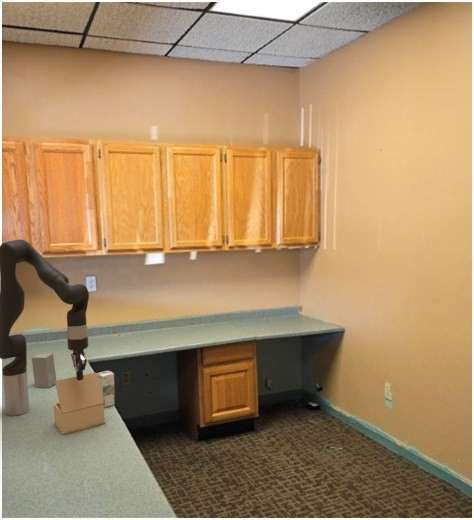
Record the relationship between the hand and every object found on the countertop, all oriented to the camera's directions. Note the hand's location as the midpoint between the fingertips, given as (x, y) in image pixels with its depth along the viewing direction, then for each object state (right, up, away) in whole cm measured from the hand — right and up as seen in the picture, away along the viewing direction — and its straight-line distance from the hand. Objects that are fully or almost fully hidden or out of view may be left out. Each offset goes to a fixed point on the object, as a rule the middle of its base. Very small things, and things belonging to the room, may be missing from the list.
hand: (79, 379), depth 179 cm
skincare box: (-34, -16, +49) cm, 62 cm away
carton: (-2, -19, +4) cm, 19 cm away
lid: (-1, -5, +1) cm, 6 cm away
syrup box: (+4, -17, +22) cm, 28 cm away
